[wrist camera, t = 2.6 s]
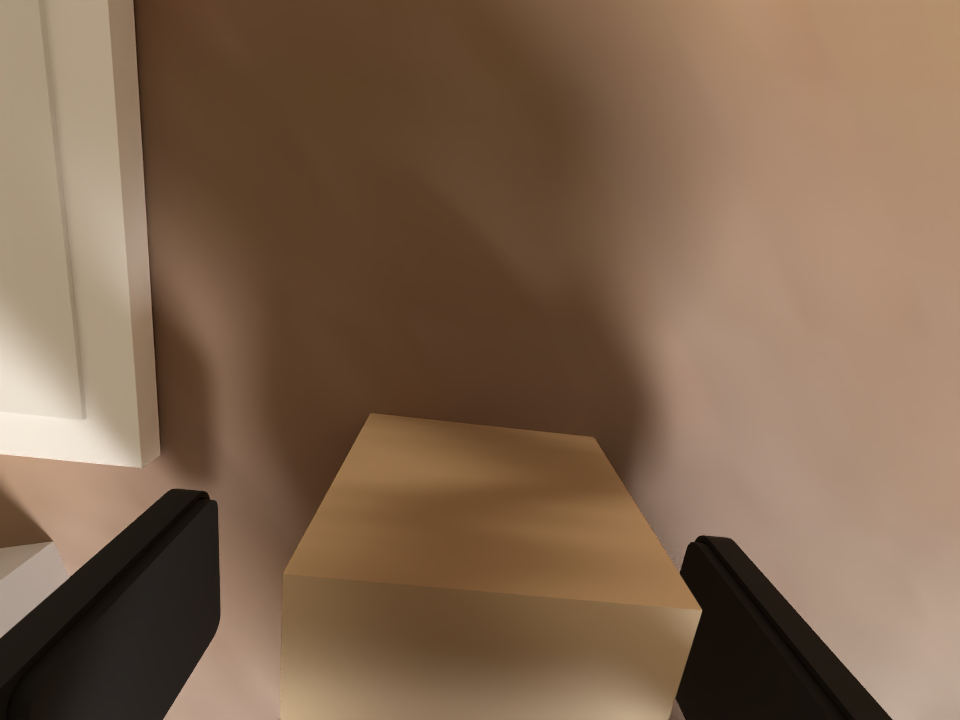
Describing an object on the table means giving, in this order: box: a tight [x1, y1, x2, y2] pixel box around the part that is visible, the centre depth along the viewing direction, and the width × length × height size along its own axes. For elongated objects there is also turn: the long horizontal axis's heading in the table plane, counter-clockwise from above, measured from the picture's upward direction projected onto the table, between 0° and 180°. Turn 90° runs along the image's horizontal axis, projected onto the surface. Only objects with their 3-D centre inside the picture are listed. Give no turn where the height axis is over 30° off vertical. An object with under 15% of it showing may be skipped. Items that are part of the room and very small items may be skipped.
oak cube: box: [280, 413, 702, 720], centre depth 8 cm, size 5×5×5 cm
